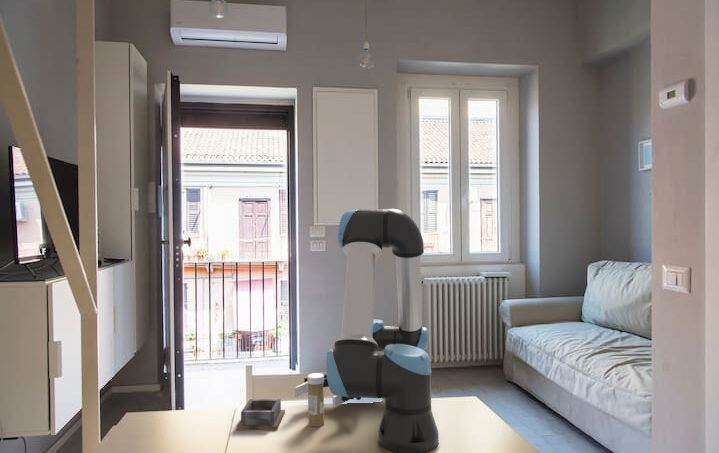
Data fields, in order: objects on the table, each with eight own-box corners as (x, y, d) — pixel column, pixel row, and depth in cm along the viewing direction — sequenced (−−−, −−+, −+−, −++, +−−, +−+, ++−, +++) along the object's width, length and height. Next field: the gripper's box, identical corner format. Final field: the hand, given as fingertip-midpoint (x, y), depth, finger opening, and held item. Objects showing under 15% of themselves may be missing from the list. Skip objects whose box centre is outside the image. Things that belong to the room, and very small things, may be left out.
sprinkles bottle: (327, 424, 123) (326, 375, 123) (312, 428, 120) (312, 378, 120) (319, 418, 127) (319, 371, 127) (305, 422, 124) (304, 374, 124)
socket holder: (284, 413, 131) (284, 397, 131) (277, 430, 120) (276, 413, 120) (247, 413, 131) (247, 397, 131) (236, 430, 120) (236, 413, 120)
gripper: (391, 395, 134) (351, 420, 116) (325, 380, 148) (281, 401, 130) (391, 370, 134) (350, 392, 116) (325, 357, 148) (280, 375, 130)
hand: (314, 397), depth 123 cm, fingers open, 13 cm apart
